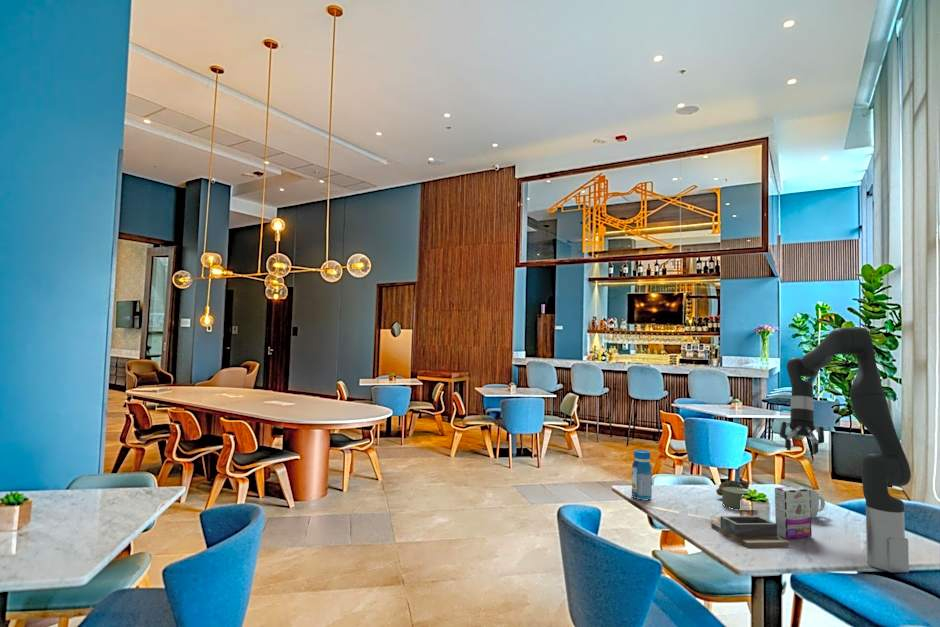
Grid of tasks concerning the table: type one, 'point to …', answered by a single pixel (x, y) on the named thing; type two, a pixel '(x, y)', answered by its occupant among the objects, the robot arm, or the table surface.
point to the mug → (816, 503)
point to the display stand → (750, 531)
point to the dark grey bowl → (733, 496)
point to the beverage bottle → (641, 475)
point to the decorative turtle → (732, 485)
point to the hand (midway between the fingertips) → (801, 452)
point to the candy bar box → (793, 512)
